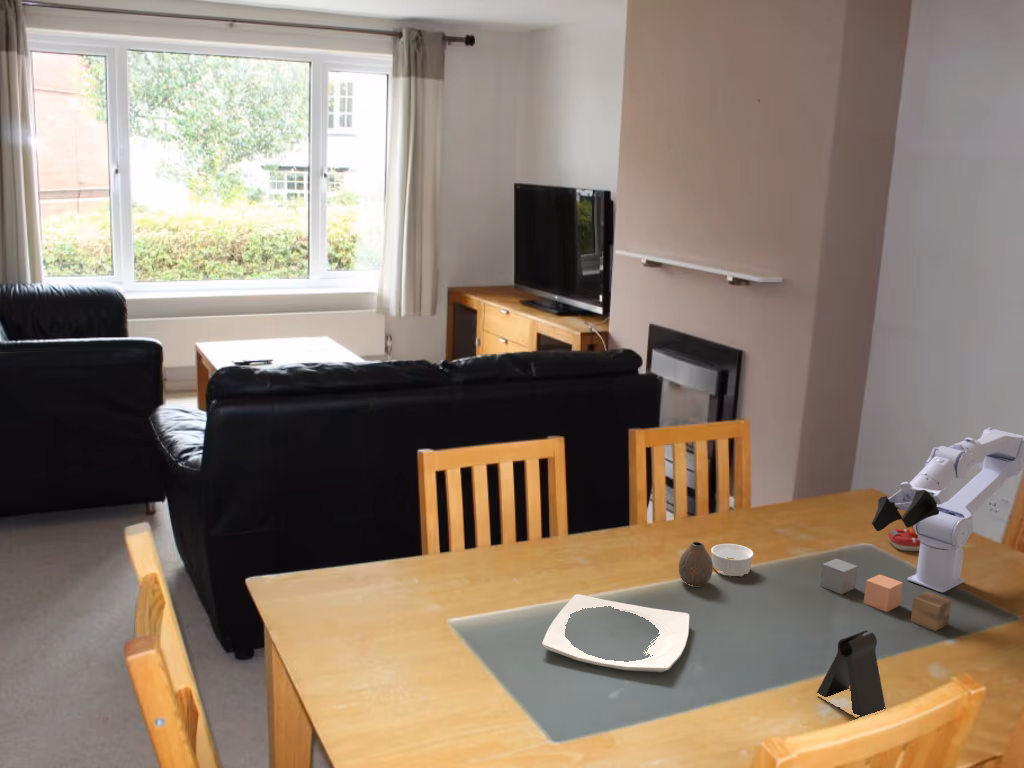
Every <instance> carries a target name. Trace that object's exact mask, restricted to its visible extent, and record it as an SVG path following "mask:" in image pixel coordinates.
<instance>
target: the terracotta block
mask: <svg viewBox="0 0 1024 768" xmlns="http://www.w3.org/2000/svg"><path fill="white" fill-rule="evenodd" d="M865 581H866V582H865V590H864V596H863V597H864V598H863V604H865V605H867V606H870V607H873V608H875V609H877V610H881V611H882V612H886V613H888V612H890V611H892V610H893V609H895V608H898V607H900V606H901V599H902V592H903V591H902V590H903V585H904V583H903V582H902V581H899V580H897V579H895V578H891V577H888V576H886V575H883V574H880V573H879V574H878V575H875V576H873V577H870V578H867V579H866V580H865Z"/></svg>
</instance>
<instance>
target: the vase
mask: <svg viewBox="0 0 1024 768" xmlns="http://www.w3.org/2000/svg"><path fill="white" fill-rule="evenodd" d="M713 570H714V569H713V563H712V556H711V555H710V553H709V552H708V550H707V549H706V547H705V545H704V543H703V542H701V541H692V542H691V544H690V545H689V546H688V548H687V549H685V551H683V552H682V554H681V556H680V559H679V562H678V573H679V576H680V578H681V581H682V582H683V581H684V582H686V583H687V584H690V585H693V586H701V587H703V586H702V585H704V586H705V585H707V583H708V582H709V581H710V580H711V578H712V575H713ZM684 582H683V583H684ZM687 584H686V585H687Z"/></svg>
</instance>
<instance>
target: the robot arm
mask: <svg viewBox="0 0 1024 768" xmlns="http://www.w3.org/2000/svg"><path fill="white" fill-rule="evenodd" d="M982 432H983V433H982V434H981V436H980V437H979V438H978V439H975V438H972V437H969V436H968V437H965V438H964V440H962V441H960V442H956V443H954V444H952V445H950V446H944V445H939V446H938V447H936V446H934V447H933V448H932V450H931V452H930V455H929V457H928V459H927V460H926V461H925V463H924V466H923V468H922V469H921V470H920V471H919V472H918V473H917V474H916V475H915V476H914V478H912V480H911V481H909V482H908V481H904V482H901V483H900V484H899V487H900V489H899V490H898V491H897V492H895V493H894V494H893V495H891V496H890V497H888V496H881V497H880V498H879V499H878V502H877V503H878V504H877V505H878V506H877V510H876V513H875V515H874V518H873V519H872V521H871V524H872V526H873V528H874V529H875V531H876V532H881V531H882V530H884V529H885V528H886V527H888V526H889V525H890V524H892V523H894V522H896V521H899V520H901V521H902V522H903V524H904V526H905V527H906V528H907V529H908V528H909V529H910V528H914V531H915V533H916V534H917V535H918V540H920V541H921V542H920V550H919V552H918V558H917V567H916V572H915V574H912V575H911V576H909V577H907V581H909V582H912V583H915V584H916V585H917V584H918V585H920V586H922V587H926V588H928V589H932V590H933V591H937V592H939V593H945V592H947V591H949V590H951V589H953V588H955V587H957V586H959V585H961V584H964V583H965V579H963V578H961V574H962V568H963V559H964V549H963V546H964V545H965V544H966V543H967V541H968V539H969V537H970V536H971V534H972V533H973V531H974V516H973V515H974V514H975V513H976V512H978V511H979V510H980V509H981V508H982V507H983V506H984V505H985V504H986V503H987V502H988V501H989V500H991V498H993V496H994V495H995V494H996V493H998V492H999V491H1000V490H1001V489H1002V488H1003V487H1004V486H1005V485H1006V484H1007V482H1008V481H1009V480H1010V479H1011V478H1012V477H1014V476H1018V475H1019V474H1020V473H1021V472H1022V471H1023V470H1024V435H1023V434H1016V433H1013V432H1009V431H1003V430H1000V429H995V428H994V427H987V428H985V429H984V430H983V431H982ZM977 466H978V467H979V468H980V470H981V471H979V472H978V473H977V474H976V475H975V476H974V477H973V478H972V479H971V480H969V482H968V483H966V484H965V485H964V486H963V487H962V488H961V489H959V490H958V492H957V493H955V494H954V495H953V496H952V497H951V498H950V499H949V500H948V499H947V497H946V495H945V493H944V491H945V490H946V489H947V487H948V486H949V485H950V484H951V483H952V482H953V481H954V480H955V479H959V480H964V479H965V478H966V477H967V476H968V474H969V472H971V470H973V469H972V468H975V467H977ZM946 500H947V501H946ZM899 511H903V512H904V513H903V515H901V513H900V512H899ZM911 526H913V527H911Z"/></svg>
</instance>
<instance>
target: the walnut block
mask: <svg viewBox="0 0 1024 768" xmlns="http://www.w3.org/2000/svg"><path fill="white" fill-rule="evenodd" d="M951 606H952V599H949V598H946V597H943V596H941V595H938V594H936V593H933V592H930V591H924V592H922V593H920V594H918V595H916V596H915V597H913V599H912V607H911V608H912V609H911V615H910V616H911V617H910V622H911V623H913V624H916V625H919V626H921V627H924V628H925V629H929V630H932V631H933V632H936V631H938V630H940V629H942V628H943V627H946V626H947V625H949V622H950V615H951V608H952V607H951Z"/></svg>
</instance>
